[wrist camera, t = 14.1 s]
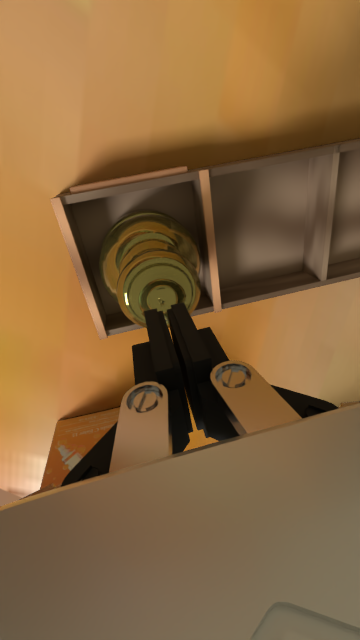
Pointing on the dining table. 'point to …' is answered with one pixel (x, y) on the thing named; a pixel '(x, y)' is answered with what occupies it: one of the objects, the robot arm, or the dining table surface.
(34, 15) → the dining table surface
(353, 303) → the dining table surface
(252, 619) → the robot arm
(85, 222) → the wooden compartment tray
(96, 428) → the small box
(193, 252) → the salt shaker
